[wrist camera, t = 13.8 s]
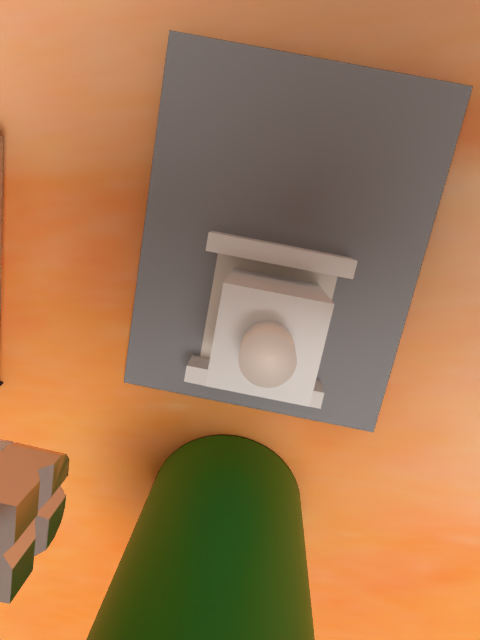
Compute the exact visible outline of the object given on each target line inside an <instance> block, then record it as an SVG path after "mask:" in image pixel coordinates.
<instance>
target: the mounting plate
mask: <svg viewBox="0 0 480 640" xmlns="http://www.w3.org/2000/svg"><path fill="white" fill-rule="evenodd" d="M472 88H473V86H469V85H463V84H458V83H452V82H447V81H442V80H436V79H431V78H425V77H420V76H415V75H409V74H404V73H398V72H393V71H388V70H382V69H377V68H371V67H366V66H360V65H355V64H350V63H344V62H339V61H333V60H328V59H323V58H317V57H312V56H306V55H301V54H296V53H290V52H285V51H279V50H274V49H268V48H263V47H258V46H252V45H247V44H241V43H236V42H231V41H225V40H220V39H214V38H209V37H204V36H198V35H193V34H187V33H182V32H176V31H171V30H169V38H168V46H167V54H166V61H165V69H164V77H163V84H162V92H161V100H160V108H159V115H158V123H157V131H156V138H155V146H154V154H153V162H152V169H151V177H150V185H149V192H148V200H147V208H146V216H145V223H144V231H143V239H142V246H141V254H140V262H139V270H138V277H137V285H136V293H135V300H134V308H133V316H132V323H131V331H130V339H129V347H128V354H127V362H126V370H125V377H124V382H125V383H130V384H135V385H140V386H145V387H150V388H155V389H160V390H165V391H170V392H175V393H180V394H185V395H190V396H195V397H200V398H205V399H210V400H215V401H220V402H225V403H230V404H235V405H240V406H245V407H250V408H255V409H260V410H265V411H270V412H275V413H280V414H285V415H290V416H295V417H300V418H305V419H310V420H315V421H320V422H325V423H330V424H335V425H340V426H345V427H350V428H355V429H360V430H365V431H370V432H374V429H375V425H376V422H377V418H378V415H379V411H380V408H381V404H382V401H383V397H384V394H385V390H386V387H387V383H388V380H389V377H390V373H391V370H392V366H393V363H394V359H395V356H396V352H397V349H398V345H399V342H400V338H401V335H402V331H403V328H404V324H405V321H406V317H407V314H408V310H409V307H410V303H411V300H412V297H413V293H414V290H415V286H416V283H417V279H418V276H419V272H420V269H421V265H422V262H423V258H424V255H425V251H426V248H427V244H428V241H429V237H430V234H431V230H432V227H433V223H434V220H435V217H436V213H437V210H438V206H439V203H440V199H441V196H442V192H443V189H444V185H445V182H446V178H447V175H448V171H449V168H450V164H451V161H452V157H453V154H454V150H455V147H456V143H457V140H458V137H459V133H460V130H461V126H462V123H463V119H464V116H465V112H466V109H467V105H468V102H469V98H470V95H471V91H472ZM233 268H238V269H243V270H249V271H254V272H259V273H264V274H269V275H274V276H279V277H285V278H290V279H295V280H300V281H305V282H310V283H315V284H319V285H320V286H321V288H322V289H323V290H324V291H325V293H326V294H327V295H328V297H329V298H330V299H331V300H332V302H333V303H334V308H333V312H332V316H331V321H330V325H329V329H328V333H327V337H326V341H325V345H324V349H323V353H322V357H321V361H320V366H319V370H318V374H317V378H316V382H315V386H314V390H313V394H312V398H311V402H310V407H307V406H302V405H297V404H292V403H287V402H282V401H277V400H272V399H267V398H262V397H257V396H252V395H247V394H242V393H237V392H232V391H227V390H222V389H217V388H212V387H207V386H205V383H206V378H207V372H208V366H209V361H210V355H211V350H212V344H213V338H214V333H215V327H216V322H217V316H218V310H219V305H220V299H221V294H222V288H223V283H224V281H225V280H226V278H227V277H228V275H229V274H230V272H231V271H232V270H233Z"/></svg>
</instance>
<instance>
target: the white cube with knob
mask: <svg viewBox="0 0 480 640" xmlns="http://www.w3.org/2000/svg"><path fill="white" fill-rule="evenodd" d="M333 308H334V303H333V302H332V300H331V299H330V298H329V297H328V295H327V294H326V293H325V291H324V290H323V289H322V288H321V286H320V285H319V284H315V283H310V282H305V281H300V280H295V279H290V278H285V277H279V276H274V275H269V274H264V273H259V272H254V271H249V270H243V269H238V268H233V270H232V271H231V272H230V274H229V275H228V277H227V278H226V280H225V281H224V283H223V288H222V294H221V299H220V305H219V310H218V316H217V322H216V327H215V333H214V338H213V344H212V350H211V355H210V361H209V366H208V372H207V378H206V383H205V386H207V387H212V388H217V389H222V390H227V391H232V392H237V393H242V394H247V395H252V396H257V397H262V398H267V399H272V400H277V401H282V402H287V403H292V404H297V405H302V406H307V407H310V402H311V398H312V394H313V390H314V386H315V382H316V378H317V374H318V370H319V366H320V361H321V357H322V353H323V349H324V345H325V341H326V337H327V333H328V329H329V325H330V321H331V316H332V312H333Z"/></svg>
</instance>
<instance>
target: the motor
mask: <svg viewBox="0 0 480 640" xmlns="http://www.w3.org/2000/svg"><path fill="white" fill-rule="evenodd" d="M87 640H315V639H314V629H313V619H312V609H311V599H310V590H309V580H308V570H307V560H306V551H305V541H304V531H303V521H302V511H301V502H300V493H299V489H298V485H297V483H296V480H295V478H294V476H293V474H292V472H291V471H290V469H289V468H288V466H287V465H286V464H285V463H284V462H283V460H282V459H281V458H280V457H279V456H277V455H276V454H275V453H274V452H272V451H271V450H270V449H268V448H266V447H265V446H263V445H261V444H259V443H257V442H254V441H252V440H249V439H246V438H242V437H237V436H229V435H216V436H208V437H204V438H200V439H197V440H194V441H191V442H189V443H187V444H185V445H183V446H182V447H180V448H179V449H177V450H176V451H175V452H174V453H173V454H171V455H170V456H169V458H168V459H167V460H166V461H165V462H164V464H163V465H162V467H161V469H160V470H159V473H158V475H157V477H156V479H155V482H154V484H153V486H152V489H151V491H150V493H149V496H148V498H147V500H146V503H145V505H144V507H143V510H142V512H141V514H140V516H139V519H138V521H137V523H136V526H135V528H134V530H133V533H132V535H131V537H130V540H129V542H128V544H127V547H126V549H125V551H124V554H123V556H122V558H121V561H120V563H119V565H118V568H117V570H116V572H115V575H114V577H113V579H112V582H111V584H110V586H109V588H108V591H107V593H106V595H105V598H104V600H103V602H102V605H101V607H100V609H99V612H98V614H97V616H96V619H95V621H94V623H93V626H92V628H91V630H90V633H89V635H88V637H87Z"/></svg>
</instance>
